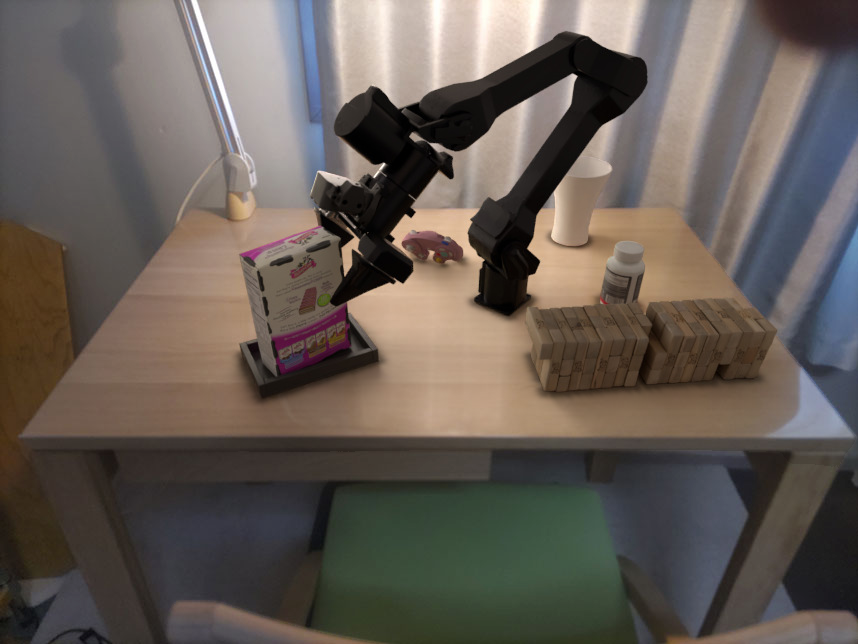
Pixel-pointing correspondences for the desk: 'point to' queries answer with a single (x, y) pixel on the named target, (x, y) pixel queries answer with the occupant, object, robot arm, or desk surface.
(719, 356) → the block tower
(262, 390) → the tray
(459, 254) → the video game controller
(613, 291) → the pill bottle
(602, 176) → the cup
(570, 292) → the desk surface
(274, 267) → the candy bar box
